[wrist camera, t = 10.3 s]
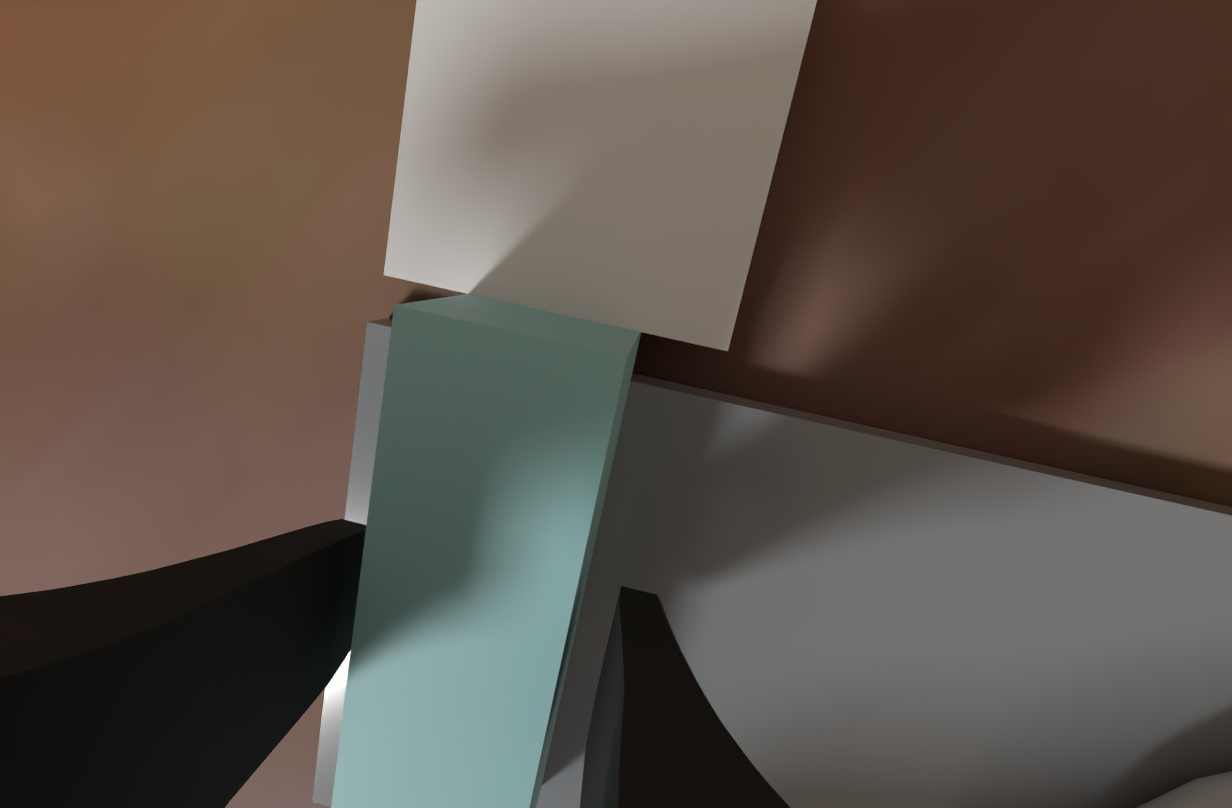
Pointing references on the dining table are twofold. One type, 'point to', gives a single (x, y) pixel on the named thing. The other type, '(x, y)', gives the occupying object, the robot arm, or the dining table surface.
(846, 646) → the slate board
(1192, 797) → the donut
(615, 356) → the turner
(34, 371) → the dining table surface
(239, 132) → the dining table surface
